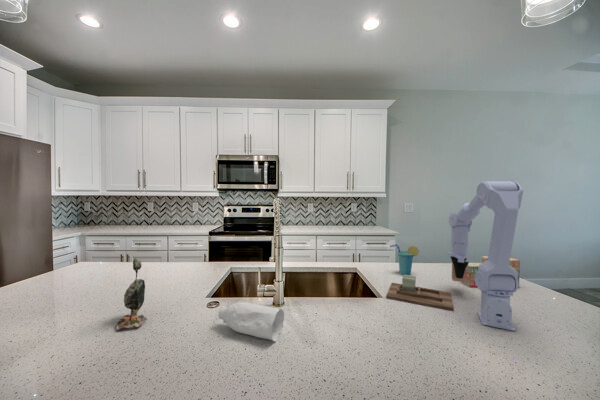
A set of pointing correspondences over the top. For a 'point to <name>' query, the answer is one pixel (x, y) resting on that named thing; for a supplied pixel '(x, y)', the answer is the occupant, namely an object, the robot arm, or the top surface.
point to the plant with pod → (133, 301)
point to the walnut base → (419, 294)
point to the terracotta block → (455, 275)
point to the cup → (406, 259)
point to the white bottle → (253, 319)
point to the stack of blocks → (473, 267)
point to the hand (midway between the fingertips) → (458, 276)
